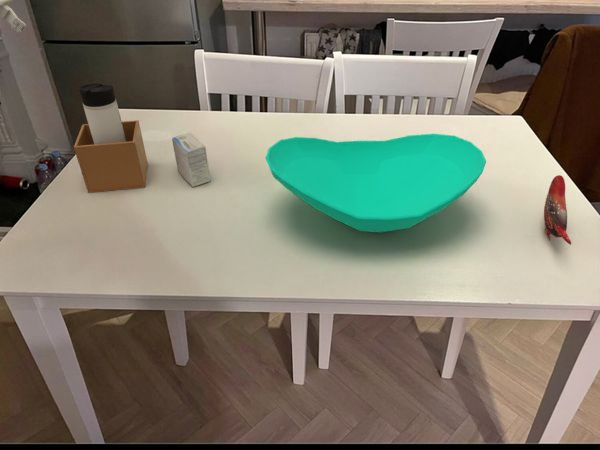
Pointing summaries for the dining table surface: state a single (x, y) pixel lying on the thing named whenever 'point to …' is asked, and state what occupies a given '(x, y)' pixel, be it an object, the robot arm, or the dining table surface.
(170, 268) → the dining table surface
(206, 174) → the medicine box
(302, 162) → the table top decor
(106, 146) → the brown open box
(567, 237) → the decorative bird figurine
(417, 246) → the dining table surface
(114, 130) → the travel mug
